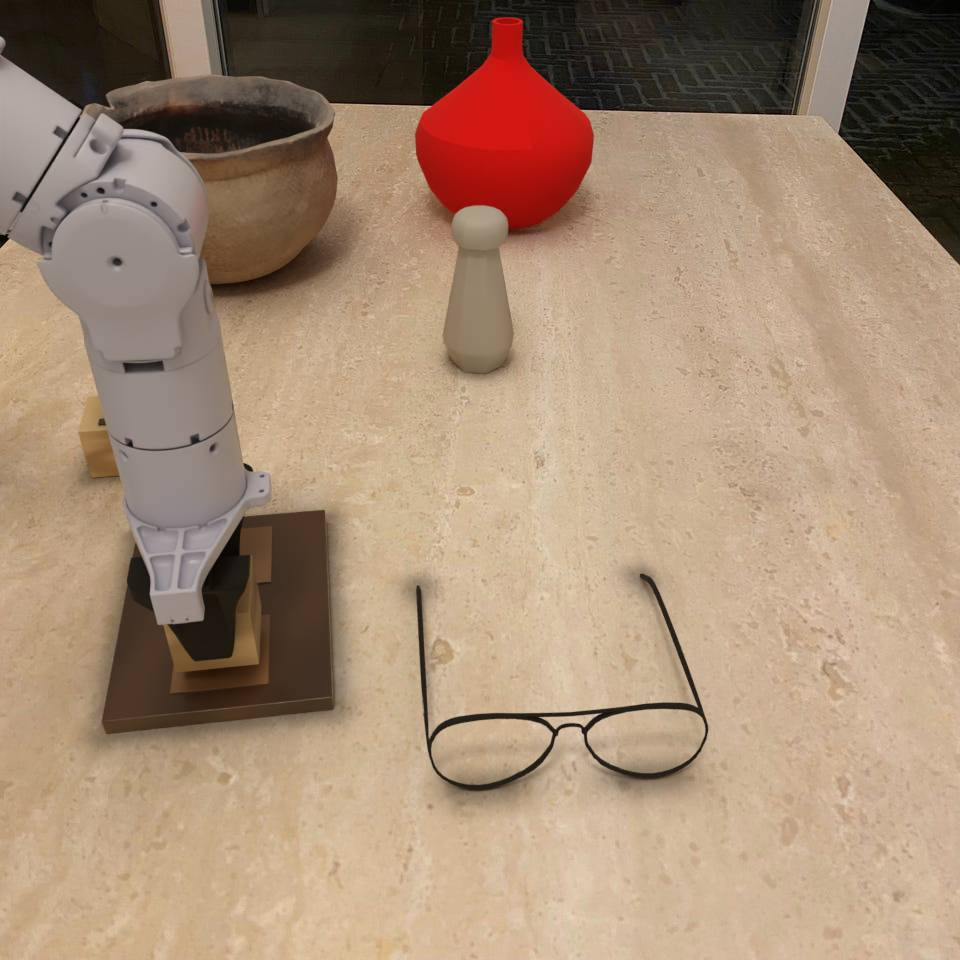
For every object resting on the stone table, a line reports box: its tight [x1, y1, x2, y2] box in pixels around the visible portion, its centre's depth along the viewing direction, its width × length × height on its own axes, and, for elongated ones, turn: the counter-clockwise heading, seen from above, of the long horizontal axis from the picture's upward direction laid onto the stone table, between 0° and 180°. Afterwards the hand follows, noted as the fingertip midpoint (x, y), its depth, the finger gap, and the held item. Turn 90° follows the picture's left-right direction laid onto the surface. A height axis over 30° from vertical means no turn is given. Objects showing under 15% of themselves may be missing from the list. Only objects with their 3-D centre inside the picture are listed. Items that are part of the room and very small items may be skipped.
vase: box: [414, 16, 595, 231], centre depth 101 cm, size 18×18×19 cm
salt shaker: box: [442, 205, 515, 375], centre depth 79 cm, size 6×6×13 cm
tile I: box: [77, 395, 120, 479], centre depth 71 cm, size 4×4×4 cm
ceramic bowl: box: [79, 73, 339, 285], centre depth 92 cm, size 22×22×15 cm
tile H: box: [163, 556, 261, 672], centre depth 54 cm, size 4×4×4 cm
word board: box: [101, 509, 334, 734], centre depth 59 cm, size 12×16×1 cm
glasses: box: [415, 573, 709, 791], centre depth 56 cm, size 14×15×5 cm
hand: (215, 621), depth 54 cm, fingers closed on tile H, 4 cm apart
